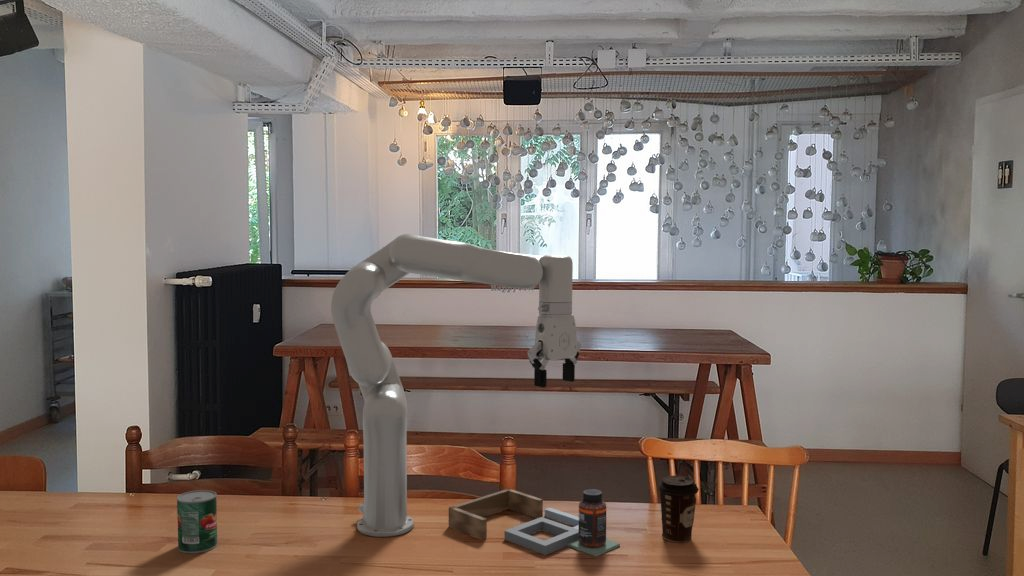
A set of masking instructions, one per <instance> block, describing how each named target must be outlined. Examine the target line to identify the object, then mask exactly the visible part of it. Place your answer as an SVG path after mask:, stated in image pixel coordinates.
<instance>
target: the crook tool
mask: <svg viewBox="0 0 1024 576" xmlns="http://www.w3.org/2000/svg"><path fill="white" fill-rule="evenodd" d="M545 516H546V517H545ZM544 517H545V518H547V519H550V520H551V519H552V520H553V521H556V522H560V521H561V522H560V523H563V522H564V523H563V524H566V523H567V524H566V525H568V524H569V525H568V526H571V525H572V526H571V527H572V528H575V529H578V530H579V515H578V516H577V515H574V514H570V513H568V512H565V511H561V510H559V509H555V508H554V507H553V508H552V507H548V508H544ZM574 526H575V527H574Z"/></svg>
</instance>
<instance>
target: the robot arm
mask: <svg viewBox="0 0 1024 576" xmlns="http://www.w3.org/2000/svg"><path fill="white" fill-rule="evenodd" d="M573 266H574V265H573V259H572V257H571V256H569V255H565V254H547V255H534V254H529V253H528V254H527V253H516V252H514V253H513V252H507V251H500V250H496V249H495V250H494V249H489V248H485V247H481V246H477V245H475V244H472V243H468V242H463V241H454V240H450V239H449V240H447V239H441V238H436V237H429V236H423V235H415V234H413V233H412V234H411V233H403V234H399V236H396V237H395V238H394V239H393V240H392V241H390V242H389V243H388V244H386V245H385V246H383V247H381V248H380V249H379V250H378V251H375V252H374V253H372V254H371V255H370V256H369V257H366V258H365V259H363V260H362V261H360V262H359V263H357V264H356V265H354V266H353V267H352V268H350V269H349V270H348V271H347V272H346V273H345V274H344V276H343V277H342V278H341V279H340V280H339V282H338V283H337V285H336V286H335V289H334V290H333V293H332V295H331V302H330V313H331V319H332V321H333V325H334V327H335V328H334V329H335V332H336V333H337V338H338V340H339V344H340V346H341V349H342V352H343V356H344V357H345V361H346V364H347V368H348V371H349V374H350V377H351V378H352V379H353V380H354V381H355V382H356V383H357V384H358V386H359V390H360V392H361V394H362V397H363V400H364V405H363V410H362V432H363V434H362V435H363V501H362V504H359V505H358V506H357V510H358V511H360V512H362V518H360V519H359V520H358V521H357V525H356V526H357V530H358V531H359V532H360V533H361V534H363V535H364V536H365V535H366V536H369V537H378V538H383V537H387V538H388V537H395V536H399V535H400V536H401V535H403V534H406V533H408V532H410V531H411V530H412V529H413V527H414V525H415V524H414V523H415V521H414V519H413V517H411V516H409V515H408V512H407V511H408V510H407V509H408V503H407V502H408V495H407V494H408V493H407V492H408V491H407V488H408V487H407V486H408V484H407V483H408V479H407V477H408V475H407V473H408V471H407V469H408V468H407V465H408V464H407V461H408V460H407V457H408V456H407V454H408V453H407V432H408V431H407V428H408V426H407V424H408V423H407V422H408V408H407V407H408V404H407V396H406V392H405V390H404V387H403V384H402V381H401V380H402V379H401V378H400V375H399V373H398V370H397V367H396V364H395V362H394V358H393V356H392V353H391V351H390V349H389V347H388V346H387V345H386V344H385V343H384V342H383V341H382V340H381V337H380V335H379V332H378V329H377V326H376V323H375V320H374V317H373V315H372V312H371V311H372V309H371V308H372V303H373V302H374V300H375V299H377V298H378V297H380V296H381V294H382V293H383V292H384V291H385V290H387V289H389V288H390V287H392V286H393V285H395V283H397V282H399V281H400V280H402V279H404V278H405V277H406V276H407V275H409V274H414V275H422V276H429V277H437V278H441V279H443V278H444V279H449V280H456V281H461V282H466V283H467V282H468V283H479V284H484V285H486V284H487V285H492V286H499V287H505V288H513V289H519V290H531V289H533V288H535V287H536V286H538V285H539V286H538V288H539V289H538V291H539V293H538V308H537V310H538V316H537V319H536V326H535V333H534V334H535V335H534V336H535V337H534V345H532V346H531V347H530V348H529V349H528V350H527V352H526V355H527V356H528V360H529V363H530V365H531V366H532V369H534V370H533V371H534V373H533V375H534V376H533V377H534V378H533V379H534V380H533V385H534V386H535V387H539V388H546V387H547V381H548V380H547V374H548V372H547V369H545V368H546V367H547V364H548V362H549V361H550V362H557V361H562V360H563V363H562V380H563V381H566V382H572V383H573V382H575V378H576V377H575V375H576V374H575V373H576V372H575V369H576V366H575V365H576V364H577V360H578V358H579V355H580V352H581V348H582V344H581V343H580V342H579V341H578V336H577V324H576V319H575V315H574V314H573V275H574V274H573V272H574V271H573V268H574V267H573Z"/></svg>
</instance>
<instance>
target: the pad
mask: <svg viewBox="0 0 1024 576" xmlns="http://www.w3.org/2000/svg"><path fill="white" fill-rule="evenodd" d="M566 547H568V548H572V549H574V550H577V551H580V552H582V553H586V554H588V555H591V556H594V557H596V558H597V557H599V556H601V555H603V554H606V553H608V552H610V551H613V550H614V549H617V548H619V547H621V543H620V542H617V541H615V540H611V539H609V538H606V543H605V544H604V545H603V546H600V547H594V548H593V547H586V546H583V545H581V544H580V543H579V539H576V540H574V541H572V542H569V543H567V546H566Z"/></svg>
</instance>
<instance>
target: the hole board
mask: <svg viewBox="0 0 1024 576" xmlns="http://www.w3.org/2000/svg"><path fill="white" fill-rule="evenodd" d="M572 527H573V526H570V525H568V524H565V523H562V522H559V521H556V520H553V519H552V520H551V519H550V518H547V517H544V516H543V517H540V518H534V519H533V520H529V521H527V522H524V523H522V524H519V525H516V526H514V527H510V528H508V529H505V530H504V531H503V532H504V539H506V540H505V541H507V540H508V541H507V542H510V541H511V542H510V543H512V542H513V543H512V544H515V543H516V544H515V545H517V544H518V545H517V546H520V545H521V546H520V547H523V546H524V548H525V547H526V548H525V549H528V548H529V550H530V549H531V551H533V550H534V551H533V552H535V553H538V552H539V553H538V554H541V555H544V556H546V555H549V554H551V553H552V554H553V553H554V552H556V551H558V550H561V549H563V548H565V547H568V546H567V543H569V542H572V541H574V540H576V539H579V537H578V536H579V530H578V529H575V528H572ZM540 530H541V531H543V530H544V532H546V531H547V532H546V533H549V534H551V535H555V536H552V537H550V538H547V539H545V540H544V539H541V538H539V537H536V536H533V534H535V533H534V532H536V533H538V532H541V531H540ZM532 533H533V534H532ZM530 534H531V535H530Z"/></svg>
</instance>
